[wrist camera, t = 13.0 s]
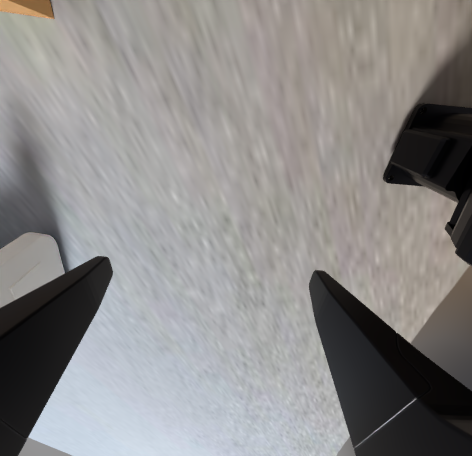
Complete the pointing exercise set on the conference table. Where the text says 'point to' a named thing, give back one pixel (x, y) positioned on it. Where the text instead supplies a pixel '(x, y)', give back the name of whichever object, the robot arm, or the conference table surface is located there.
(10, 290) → the cable organizer
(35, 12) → the plug
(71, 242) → the conference table surface
